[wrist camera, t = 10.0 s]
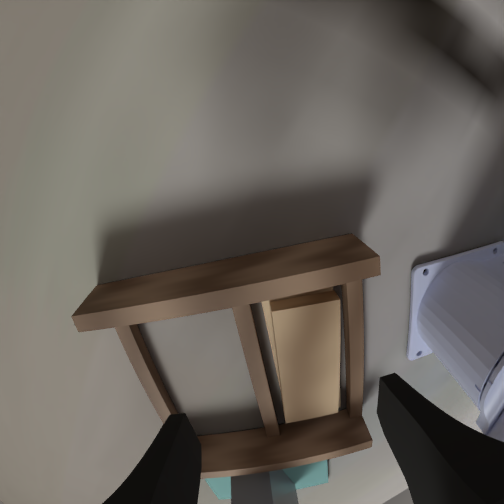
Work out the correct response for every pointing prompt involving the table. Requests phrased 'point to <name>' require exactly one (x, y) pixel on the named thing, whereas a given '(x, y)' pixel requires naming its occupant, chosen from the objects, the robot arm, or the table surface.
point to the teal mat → (298, 475)
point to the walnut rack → (249, 343)
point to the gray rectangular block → (263, 488)
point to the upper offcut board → (308, 354)
